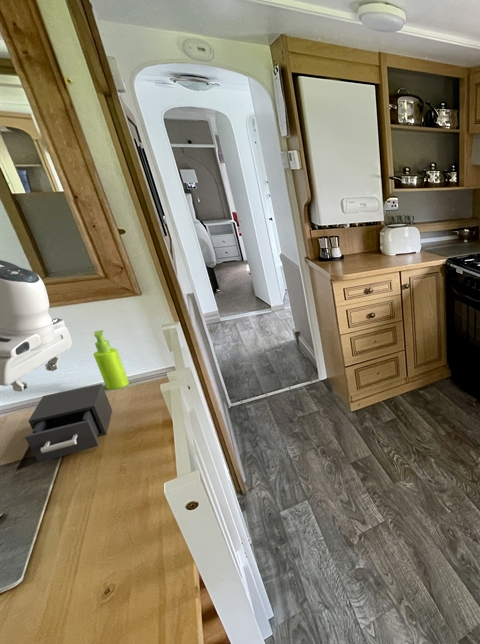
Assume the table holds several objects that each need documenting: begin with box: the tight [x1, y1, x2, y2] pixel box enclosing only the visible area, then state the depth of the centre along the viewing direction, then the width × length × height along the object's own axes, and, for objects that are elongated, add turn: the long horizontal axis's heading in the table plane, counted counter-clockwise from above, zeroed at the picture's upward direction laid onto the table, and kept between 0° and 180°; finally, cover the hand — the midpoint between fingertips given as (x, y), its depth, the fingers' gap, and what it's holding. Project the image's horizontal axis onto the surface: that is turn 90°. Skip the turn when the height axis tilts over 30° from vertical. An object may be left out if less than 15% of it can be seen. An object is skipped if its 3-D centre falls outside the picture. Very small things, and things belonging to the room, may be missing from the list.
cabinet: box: [28, 383, 113, 438], centre depth 107 cm, size 15×13×10 cm
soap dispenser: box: [93, 329, 130, 391], centre depth 129 cm, size 6×7×20 cm
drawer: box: [24, 409, 100, 464], centre depth 100 cm, size 18×11×8 cm, turn 36°
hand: (37, 379), depth 97 cm, fingers open, 8 cm apart
